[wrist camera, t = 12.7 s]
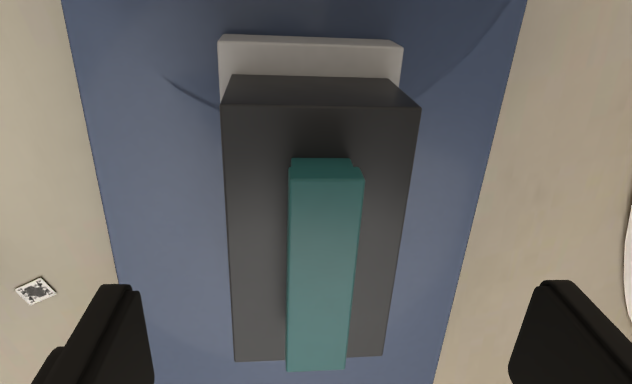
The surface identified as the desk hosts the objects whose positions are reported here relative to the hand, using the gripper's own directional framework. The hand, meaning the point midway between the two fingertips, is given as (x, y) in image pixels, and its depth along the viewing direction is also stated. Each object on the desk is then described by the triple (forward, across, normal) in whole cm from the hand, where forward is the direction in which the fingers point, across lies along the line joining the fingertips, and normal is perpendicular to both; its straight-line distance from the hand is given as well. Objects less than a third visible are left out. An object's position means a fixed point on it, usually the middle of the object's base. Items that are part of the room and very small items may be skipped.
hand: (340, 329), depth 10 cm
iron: (+8, 0, +1) cm, 9 cm away
